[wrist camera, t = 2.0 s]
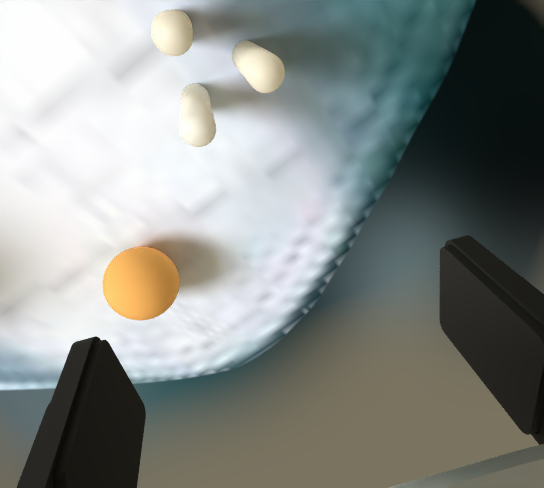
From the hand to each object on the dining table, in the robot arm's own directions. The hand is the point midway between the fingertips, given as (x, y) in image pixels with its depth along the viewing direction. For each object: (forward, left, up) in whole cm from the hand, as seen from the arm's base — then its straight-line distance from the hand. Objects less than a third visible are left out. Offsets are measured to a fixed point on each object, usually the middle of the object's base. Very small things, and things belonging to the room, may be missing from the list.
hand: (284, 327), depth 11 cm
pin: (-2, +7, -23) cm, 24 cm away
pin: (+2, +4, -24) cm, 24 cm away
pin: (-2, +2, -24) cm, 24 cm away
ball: (-9, -11, -21) cm, 25 cm away
